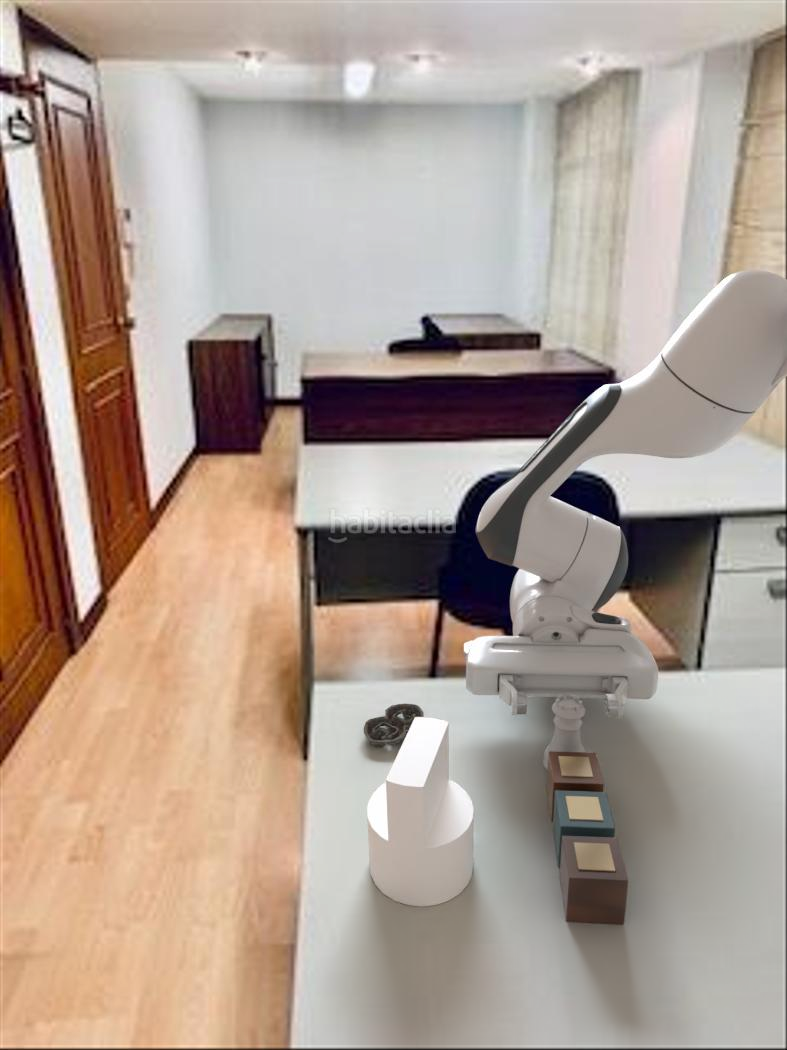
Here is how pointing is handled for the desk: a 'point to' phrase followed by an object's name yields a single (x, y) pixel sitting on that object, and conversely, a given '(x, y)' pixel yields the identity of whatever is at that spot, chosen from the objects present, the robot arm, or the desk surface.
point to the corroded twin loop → (392, 724)
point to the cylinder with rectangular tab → (421, 822)
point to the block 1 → (572, 774)
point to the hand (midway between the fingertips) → (567, 710)
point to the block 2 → (593, 880)
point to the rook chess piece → (566, 726)
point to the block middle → (581, 816)
